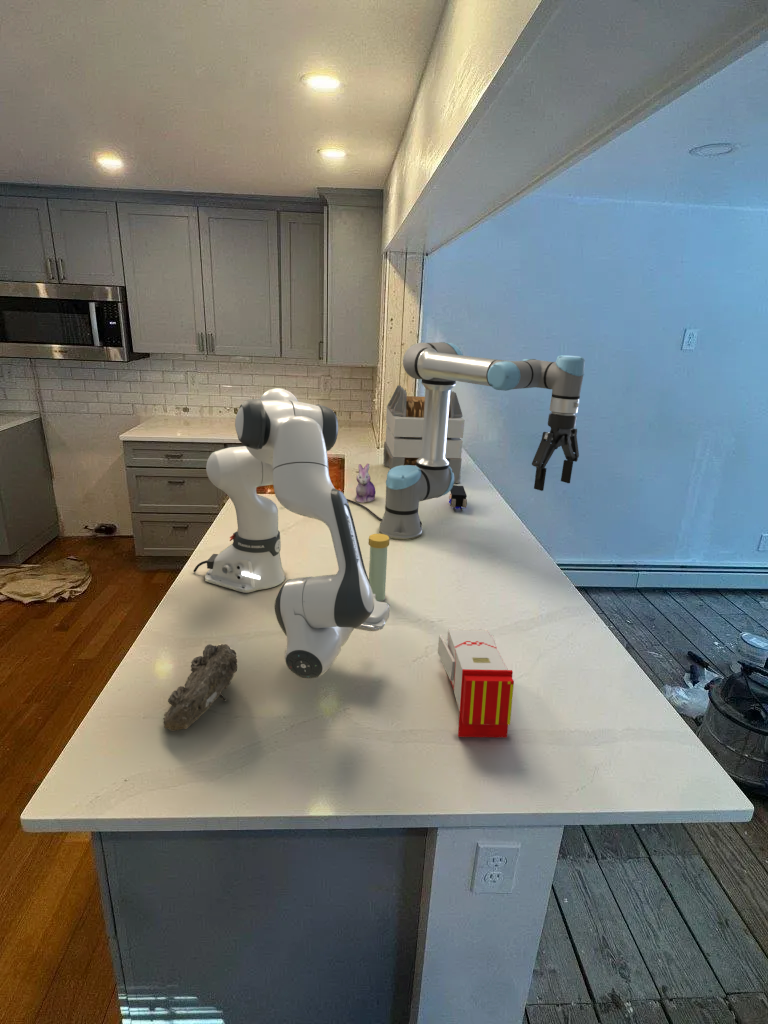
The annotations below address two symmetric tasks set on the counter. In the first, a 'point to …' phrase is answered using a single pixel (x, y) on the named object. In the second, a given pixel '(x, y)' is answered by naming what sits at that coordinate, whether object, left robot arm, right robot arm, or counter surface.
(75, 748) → the counter surface
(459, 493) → the figurine character
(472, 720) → the toy
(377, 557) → the jar
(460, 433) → the white slatted crate
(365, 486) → the figurine
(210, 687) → the fossil
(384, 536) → the lid
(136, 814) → the counter surface
